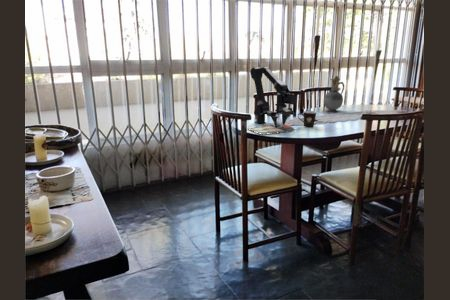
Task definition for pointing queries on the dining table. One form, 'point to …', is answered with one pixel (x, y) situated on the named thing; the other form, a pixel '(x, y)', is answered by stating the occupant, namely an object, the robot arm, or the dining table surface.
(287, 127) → the button
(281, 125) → the marker
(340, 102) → the pitcher
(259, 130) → the colouring board
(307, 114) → the coffee mug
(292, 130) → the button housing
